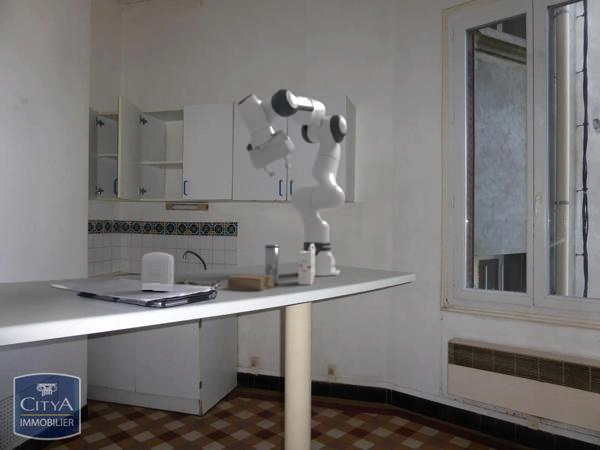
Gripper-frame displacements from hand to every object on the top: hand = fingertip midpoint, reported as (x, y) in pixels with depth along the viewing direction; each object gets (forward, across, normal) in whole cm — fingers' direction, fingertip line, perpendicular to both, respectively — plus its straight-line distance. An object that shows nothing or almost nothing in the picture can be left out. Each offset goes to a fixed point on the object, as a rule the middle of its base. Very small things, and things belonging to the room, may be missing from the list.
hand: (281, 172), depth 161 cm
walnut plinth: (+30, +4, +33) cm, 45 cm away
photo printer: (+16, +18, +56) cm, 61 cm away
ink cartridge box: (+41, +2, +12) cm, 43 cm away
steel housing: (+35, +10, +20) cm, 41 cm away
